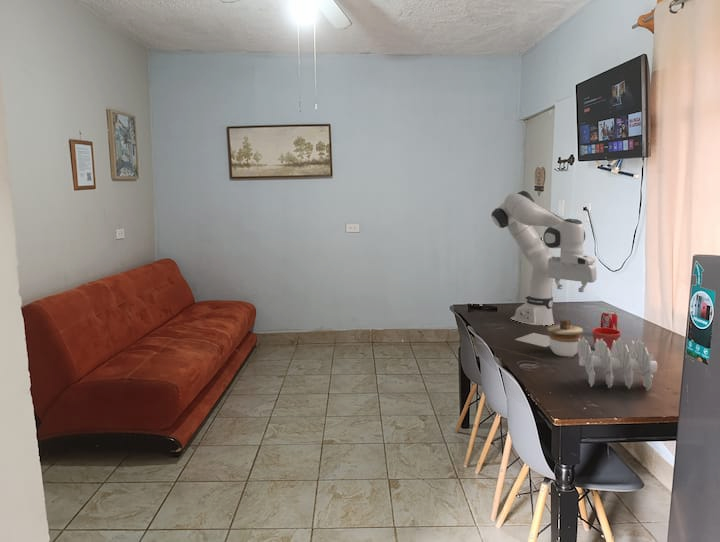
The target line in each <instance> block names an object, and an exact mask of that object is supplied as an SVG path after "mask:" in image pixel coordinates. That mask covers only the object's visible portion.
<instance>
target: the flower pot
mask: <svg viewBox="0 0 720 542" xmlns="http://www.w3.org/2000/svg"><path fill="white" fill-rule="evenodd" d="M621 334H622V332H621V331H620V330H618V329H617V330H616V329H612V328H601V327H595V328H593V329H592V338H593V344H594V345H593V346H595V342H596V339H598V341H599V340H600V339H601V338H603V341H604V342H605V343H606V344H607V348H609V350H611V348H612V344H613V340H615V342H616V341H617V339H618V338H620V339H621Z"/></svg>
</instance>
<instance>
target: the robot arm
mask: <svg viewBox="0 0 720 542" xmlns="http://www.w3.org/2000/svg"><path fill="white" fill-rule="evenodd" d="M490 216H491V219H492V222H493V223H494V225H496V226H497V227H498V228H501V229H504V228H506V229H507V230H508V232H509V233H510V235H511V237H512V238H513V239H514V240H515V242H516V244H517V245H518V248H519V249H520V250H521V252H522V253H523V255H524V257H525V258H526V260H527V262H528V263H529V265H530V266H531V267H532V273H531V277H530V281H529V285H530V286H529V295H528V296H526V297H525V298H524V299H525V300H526V302H525V303H523V304H521V305H520V306H518V307H517V308H516V311H515V314H514V316H511V317H510V320H511V319H512V320H515V321H518V322H517V323H519V322H521V323H520V324H528V325H534V326H539V325H543V327H544V326H545V325H548V326H550V325H552V324H553V325H555V321H554V320H555V319H554V316H553V306H554V305H553V303H554V300H553V299H554V297H553V284H554V283H553V282H554V281H555V283H556V285H557V286H556V289H557V290H563V284H562V283H561V282H560V281H561V280H565V281H574V282H581V286H580V287H578V292H579V293H584V292H585V287H586V286H587V285H588V283H589V284H590V283H591V284H593V283H595V282H596V281H597V267H596V265H595V262H596V258H594V257H592V256H590V255H588V254H585V253H584V248H583V245H584V242H585V240H586V232H585V228H584V227H585V226H584V223H583V222H582V221H581V220H579V219H577V218H575V219H574V218H565V219H564V218H563V217H560V216H559V215H557V214H555V213H554V212H551V211H549V210H547V209H546V208H543V207H542V206H540V205H539V204H537V203H535V200H534V197H533V196H532V195H531V194H530V193H529V192H528V191H525V190H521V191H519V192H513V193H510V194H508V195H507V196H506V197H505V199H504V201H503V203H501V204H500V205H499V206H498V207H497V208H494V209H493V211H492V212H491V215H490ZM535 226H537V227H546V229H545V230H544V232H543V241H542V239H541V237H540V235H539V234H538V232H537V231H536V229H535V228H534V227H535ZM543 242H544V243H543ZM544 244H545V245H544ZM546 247H548V248H549V249H560V253H559V255H560V256H555V255H554V253H552V252H550V251H549V250H548V249H547V248H546ZM512 320H511V321H512ZM515 321H514V322H515ZM545 327H546V326H545Z"/></svg>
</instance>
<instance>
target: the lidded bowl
mask: <svg viewBox="0 0 720 542" xmlns="http://www.w3.org/2000/svg"><path fill="white" fill-rule="evenodd" d="M548 336H549V337H550V338H549V342H550V346H549V347H550V349H551V351H552V353H553V354H555V355H557V356H559V357H568V359H572V358H574V356H575V355H577V354H578V350H577V343H578V339H579V338H580V341H581V339H582V336H581V334H578V335H563V334H557V333H553V332H549V334H548ZM571 357H572V358H571Z"/></svg>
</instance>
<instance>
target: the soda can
mask: <svg viewBox="0 0 720 542" xmlns="http://www.w3.org/2000/svg"><path fill="white" fill-rule="evenodd" d="M600 328H612V329H616V330H618V314H617V312H616V311H614V310H603V311H602V314H601V315H600Z"/></svg>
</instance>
